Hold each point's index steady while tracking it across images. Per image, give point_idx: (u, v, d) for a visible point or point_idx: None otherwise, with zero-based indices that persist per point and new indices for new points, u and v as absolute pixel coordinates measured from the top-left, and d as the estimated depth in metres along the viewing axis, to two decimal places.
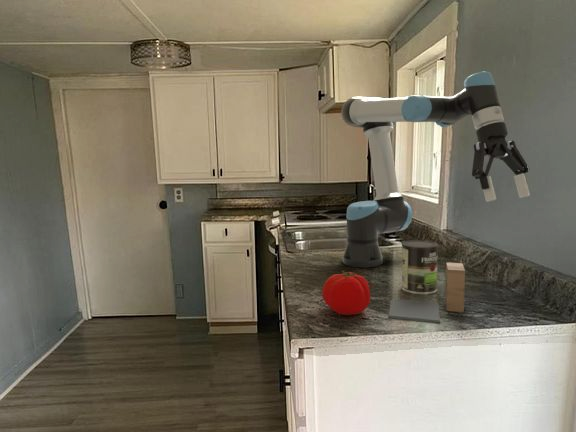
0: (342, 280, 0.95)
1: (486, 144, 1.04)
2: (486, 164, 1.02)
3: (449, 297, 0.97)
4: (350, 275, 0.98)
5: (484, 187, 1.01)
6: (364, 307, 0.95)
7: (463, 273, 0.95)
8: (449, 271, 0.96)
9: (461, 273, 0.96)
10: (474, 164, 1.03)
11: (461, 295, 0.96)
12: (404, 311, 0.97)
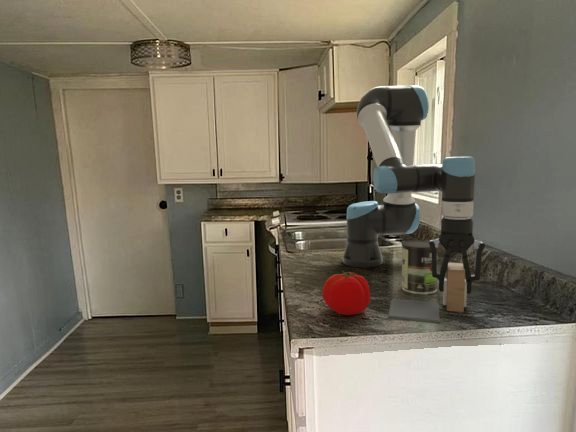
0: (342, 280, 0.95)
1: (439, 240, 0.99)
2: (442, 266, 0.99)
3: (449, 296, 0.97)
4: (350, 275, 0.98)
5: (439, 289, 1.01)
6: (364, 307, 0.95)
7: (463, 273, 0.95)
8: (449, 271, 0.96)
9: (461, 273, 0.96)
10: None
11: (461, 295, 0.96)
12: (404, 311, 0.97)
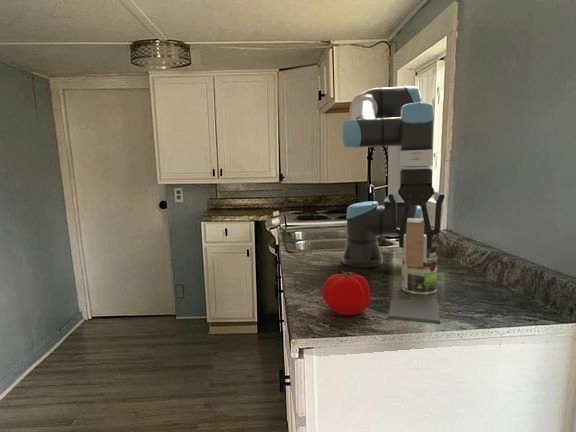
0: (342, 280, 0.95)
1: (398, 193, 0.95)
2: (401, 220, 0.95)
3: (408, 251, 0.93)
4: (350, 275, 0.98)
5: None
6: (364, 307, 0.95)
7: (422, 225, 0.91)
8: (408, 224, 0.92)
9: (420, 226, 0.91)
10: None
11: (420, 249, 0.92)
12: (404, 311, 0.97)
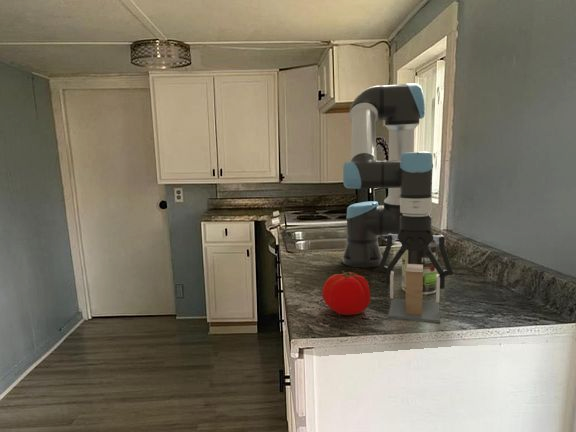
0: (342, 280, 0.95)
1: (398, 236, 0.96)
2: (392, 260, 0.98)
3: (407, 299, 0.95)
4: (350, 275, 0.98)
5: None
6: (364, 307, 0.95)
7: (421, 275, 0.93)
8: (407, 273, 0.94)
9: (419, 275, 0.93)
10: None
11: (419, 298, 0.94)
12: (404, 311, 0.97)
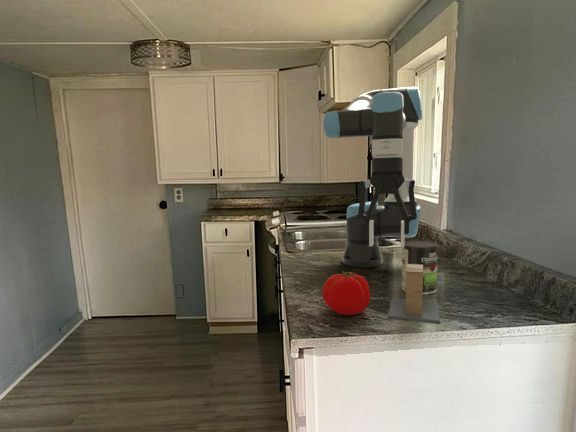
0: (342, 280, 0.95)
1: (370, 181, 0.97)
2: (369, 207, 0.98)
3: (407, 299, 0.95)
4: (350, 275, 0.98)
5: None
6: (364, 307, 0.95)
7: (421, 275, 0.93)
8: (407, 273, 0.94)
9: (419, 275, 0.93)
10: None
11: (419, 298, 0.94)
12: (404, 311, 0.97)
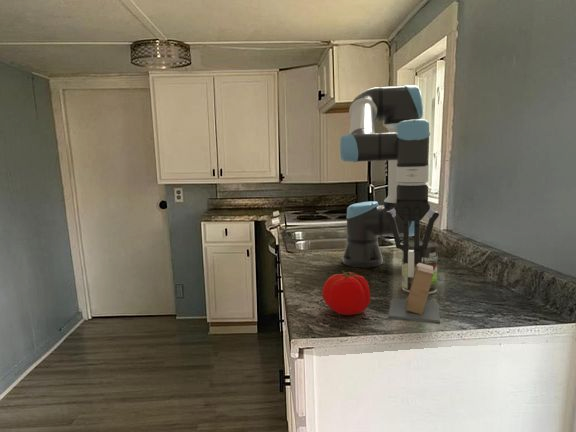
0: (342, 280, 0.95)
1: (395, 209, 0.96)
2: None
3: (411, 297, 0.95)
4: (350, 275, 0.98)
5: None
6: (364, 307, 0.95)
7: (431, 276, 0.92)
8: (417, 271, 0.93)
9: (428, 276, 0.92)
10: None
11: (424, 298, 0.94)
12: (404, 311, 0.97)
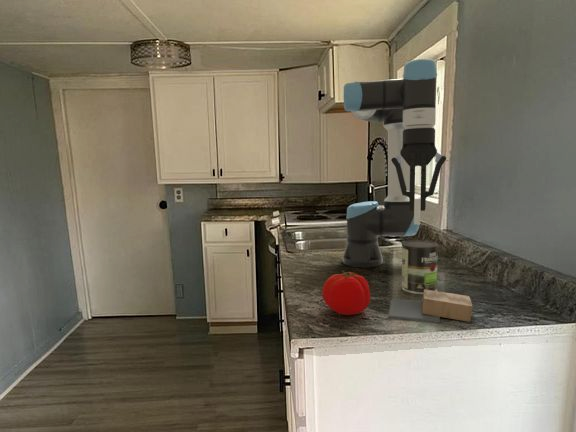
0: (342, 280, 0.95)
1: (401, 155, 0.93)
2: (409, 183, 0.94)
3: (439, 303, 0.92)
4: (350, 275, 0.98)
5: (409, 208, 0.95)
6: (364, 307, 0.95)
7: (467, 320, 0.91)
8: (470, 307, 0.90)
9: (466, 317, 0.91)
10: None
11: (441, 314, 0.93)
12: (404, 311, 0.97)
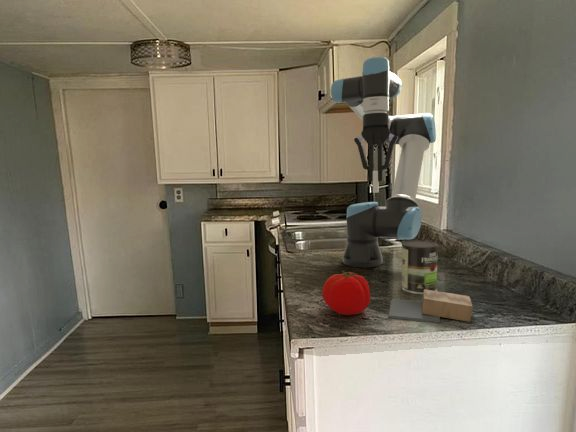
0: (342, 280, 0.95)
1: (362, 135, 1.14)
2: (369, 158, 1.14)
3: (439, 303, 0.92)
4: (350, 275, 0.98)
5: None
6: (364, 307, 0.95)
7: (467, 320, 0.91)
8: (470, 307, 0.90)
9: (466, 317, 0.91)
10: None
11: (441, 314, 0.93)
12: (404, 311, 0.97)
